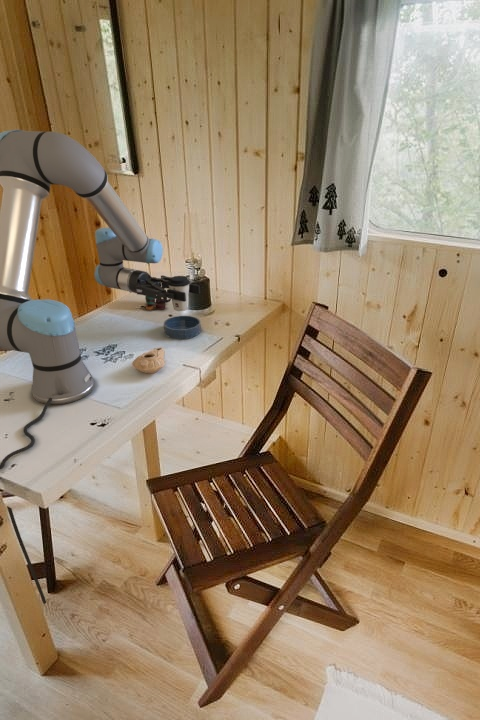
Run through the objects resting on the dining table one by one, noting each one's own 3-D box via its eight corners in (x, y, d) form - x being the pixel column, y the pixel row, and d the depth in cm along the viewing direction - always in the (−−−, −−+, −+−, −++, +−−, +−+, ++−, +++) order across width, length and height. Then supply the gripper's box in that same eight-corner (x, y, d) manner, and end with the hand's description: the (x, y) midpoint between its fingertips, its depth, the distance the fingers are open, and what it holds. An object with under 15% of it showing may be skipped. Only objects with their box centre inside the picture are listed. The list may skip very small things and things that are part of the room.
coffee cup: (177, 314, 148) (174, 283, 143) (166, 307, 153) (163, 277, 148) (195, 309, 152) (193, 279, 147) (184, 303, 157) (182, 273, 151)
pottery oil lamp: (175, 358, 140) (177, 343, 134) (155, 387, 133) (156, 373, 128) (149, 345, 140) (149, 330, 134) (127, 374, 133) (127, 359, 128)
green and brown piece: (171, 284, 168) (142, 282, 166) (170, 312, 174) (143, 311, 172) (170, 276, 176) (143, 274, 174) (170, 303, 181) (143, 302, 179)
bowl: (187, 342, 150) (186, 332, 148) (157, 335, 155) (156, 325, 153) (208, 329, 159) (207, 320, 157) (179, 322, 164) (178, 313, 162)
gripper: (156, 283, 166) (210, 295, 157) (116, 301, 151) (173, 315, 142) (153, 262, 162) (209, 273, 153) (112, 278, 147) (171, 291, 138)
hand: (192, 293), depth 147 cm, fingers closed on coffee cup, 7 cm apart
